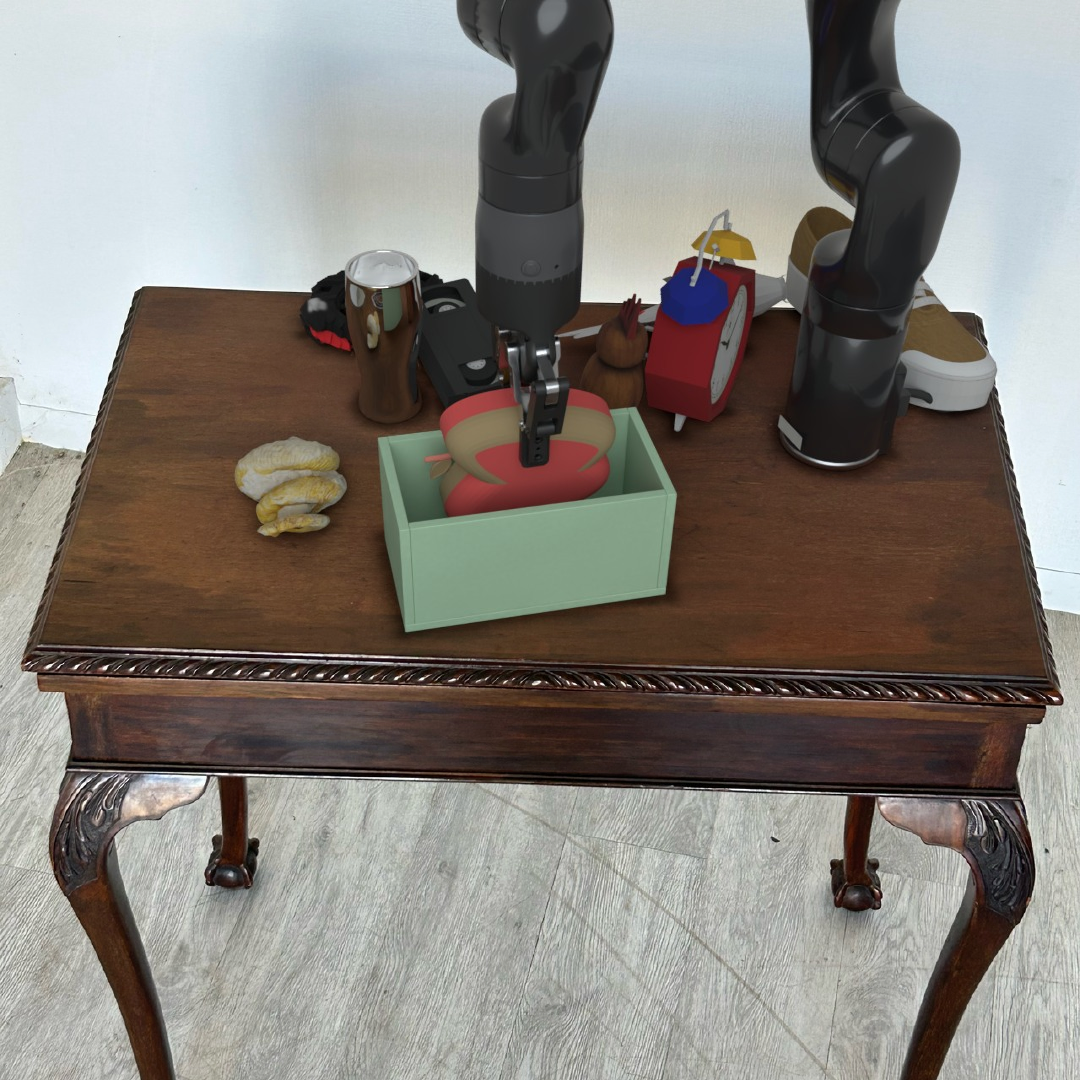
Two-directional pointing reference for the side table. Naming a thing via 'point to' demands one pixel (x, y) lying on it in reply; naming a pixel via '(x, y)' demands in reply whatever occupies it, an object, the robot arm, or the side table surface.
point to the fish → (765, 297)
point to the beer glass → (385, 332)
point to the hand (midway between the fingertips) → (525, 443)
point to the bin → (525, 537)
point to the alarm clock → (701, 328)
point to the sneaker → (909, 329)
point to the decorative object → (493, 455)
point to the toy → (336, 310)
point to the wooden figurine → (618, 359)
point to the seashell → (291, 484)
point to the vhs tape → (456, 342)
